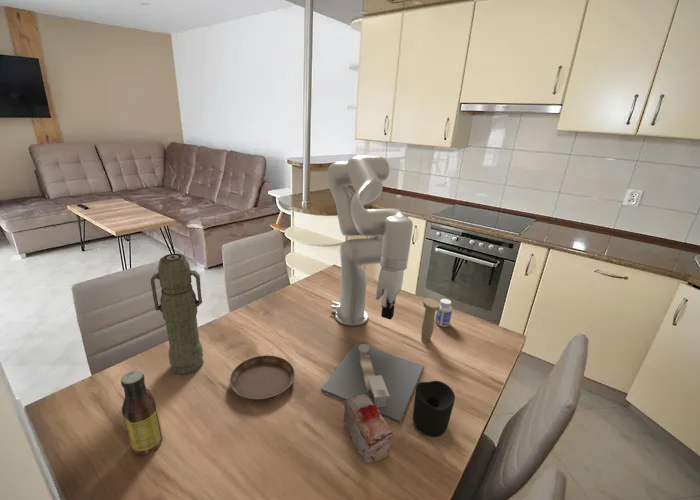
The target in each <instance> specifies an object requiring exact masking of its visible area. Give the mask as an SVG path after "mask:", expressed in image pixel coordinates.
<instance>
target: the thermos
mask: <svg viewBox="0 0 700 500" xmlns="http://www.w3.org/2000/svg"><path fill="white" fill-rule="evenodd" d="M157 271H158V272H157V273H153V275H152V276H151V278H150V284H151V291H152V297H153V303H154V309H155V311H160V313H162V319H163V320H164V321H165V325H166V331H167V339H168V343H169V344H168V345H169V347H168V348H169V349H168V359H169V365H170V366H171V371H172V373H173V374H175V375H178V376H187V375H192V374H193V373H196V372H197V371H199V370H200V369H201V368H202V367H203V365H204V359H203V357H204V353H203V346H202V342H201V340H200V335H199V328H198V318H197V315H198V307H199V306H201V305H202V303H203V297H202V289H201V288H202V286H201V276H200V273H199V272H198V271H196V270H192V269H191V266H190V263H189V261H188V259H187V257H186V256H185V255H184V254H181V253H169V254H166V255H163V256H162V257H161V258H160V259H159V263H158V267H157ZM192 276H193V277H194V278H195V283H196V291H197V293H196V292H195V291H194V289H193V285H192ZM156 279H157V280H159V284H160V288H161V297H160V299H159V300H160V301H158V295H157V290H156V288H157V287H156V283H155V281H156ZM196 294H197V295H196ZM159 302H160V304H159Z"/></svg>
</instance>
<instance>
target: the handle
mask: <svg viewBox="0 0 700 500" xmlns="http://www.w3.org/2000/svg"><path fill="white" fill-rule="evenodd" d="M422 304H423V307H424V308H425V310H424V314H423V319H422V325H421V333H420V334H421V341H422V342H424V343H427V342H428V343H429V342H431V338H432V336H433V332H434V325H435V319H436V312H437V310H439V309H440V302H438V301H437V300H436V299H434V298H431V297H426V298H423V299H422Z"/></svg>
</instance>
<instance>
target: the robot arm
mask: <svg viewBox="0 0 700 500" xmlns="http://www.w3.org/2000/svg"><path fill="white" fill-rule="evenodd" d="M326 172H327V175H326V176H327V184H328V188H329V192H330V193H331V195H332V198H333V199H334V202H335V206H336V207H335V208H336V214H337V218H338V219H337V220H338V225H339V229H340V232H341V234H342V235H343V236H344V237H349V238H350V239H347V240H345V241H343V242H342V243H341V245H340V247H339V256H340V257H339V258H340V266H341V267H340V268H341V269H340V270H341V271H340V272H341V274H340V292H339V293H340V297H339V302H338V301H336V300H331V303H330V305H331V306H330V309H332V310H336V312H335V313H334V314H335V315H334V316H335V320H336V321H337V322H339V323H340V324H342V325H345V326H350V327H356V326H361V325H364V324H365V323H367V321H368V320H369V314H368V312H367V311H366V310H365V307H366V295H367V281H368V276H367V273H366V271H365V270H364V269H363V267H362V266H367V265H368V266H369V265H376V264H377V265H378V264H379V265H380V267H381V268H380V271H379V273H378V274H379V275H378V280H377V285H376V292H375V300H378V301H379V300H380V299H381V298H382V300H381V304H380V307H381V317H382V318H384V319H388V320H392V319H393V317H394V313H395V312H394V311H395V304H396V299H397V297H398V295H399V294H400V292H401V291H402V288H403V281H404V273H405V272H404V271H405V270H407V269H408V262H409V257H410V249H411V240H412V234H413V226H414V224H413V221H412V220H411V219H410V218H408V217H406V216H405V214H404V213H403V211H402V210H401V209H398V208H365V207H364V206H365V205H368V204H370V203H371V202H374V201H375V200H377V199H378V198H379V197H380V196H381V194H382V192H383V187H384V186H383V182H384V181H386V180H387V179H388V177H389V176H390V166H389V163H388V161H387V159H386V158H385V157H383V156H379V155H356V156H353V157H350V158H349V159H348V160H347V161H336V162H333V163H331V164H330V165H329V166H328V169H327V171H326ZM349 186H352V187H353V190H354V191H353V190H352V189H351V188H350V187H349ZM352 237H353V239H352ZM354 237H356V238H354ZM357 237H367V238H357Z"/></svg>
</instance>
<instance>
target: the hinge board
mask: <svg viewBox="0 0 700 500" xmlns="http://www.w3.org/2000/svg"><path fill="white" fill-rule="evenodd" d="M360 355H369V356H370V359H371V363H372V366H373V370H374V374H375V376H369V377H368V378H367V379H368V382H369V385H370V388H371V391H372V393H373V395H368V394H367V390H366V386H365V382H364V378H363V373H362V369H361V365H360V361H359V358H360ZM424 366H425V365H423V364H421V363H418V362H416V361H412V360H409V359H406V358H403V357H400V356H397V355H394V354H391V353H388V352H385V351H383V350H379V349H377V348H374V347H370V346H369V345H368V344H364V343H363V344H362V343H359V342H357V343H355V345H353V347H352V349H351V350H349V352H348V354H347V355H346V356H345V357H344V358H343V360H342V361H341V362H340V363H339V365H338V366H337V367H336V368H335V370H334V371H333V373H332V374H331V375H330V376H329V378H328V379H327V380H326V381H325V382H324V384H323V386H322V387H321V388H320V392H321V393H324V394H327V395H329V396H331V397H334V398H335V399H338V400H340V401H343V402H345V401H346V400H347V399H349V398H351V397H354V396H358V395H361V394H364V395H367V396H368V397H369V399H370V400H371V401H372V403H373V404H374V405H375V406H376V407H377V409H378V410H379V411H380V412H379V413H380V414H381V415H382V417H383V418H384V419H385V420H386V419H387V420H389V421H391V422H394V423H396V424H399V425H400V424H401V422H402V419H403V418H404V415H405V412H406V411H407V407H408V405H409V403H410V400H411V398H412V396H413V393H414V392H415V390H416V386H417V384H418V383H419V382H418V381H419V380H420V377H421V375H422V372H423V370H424Z"/></svg>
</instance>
